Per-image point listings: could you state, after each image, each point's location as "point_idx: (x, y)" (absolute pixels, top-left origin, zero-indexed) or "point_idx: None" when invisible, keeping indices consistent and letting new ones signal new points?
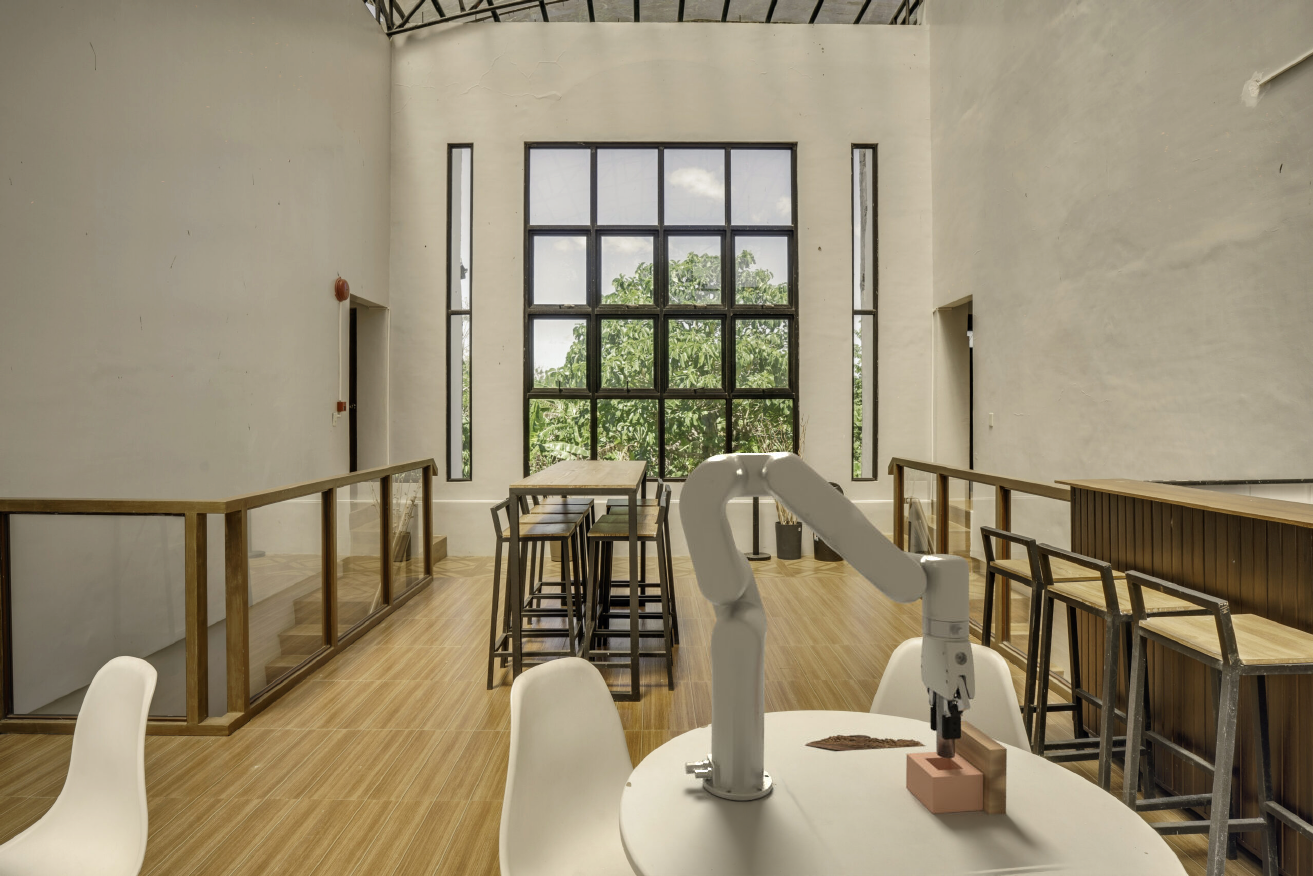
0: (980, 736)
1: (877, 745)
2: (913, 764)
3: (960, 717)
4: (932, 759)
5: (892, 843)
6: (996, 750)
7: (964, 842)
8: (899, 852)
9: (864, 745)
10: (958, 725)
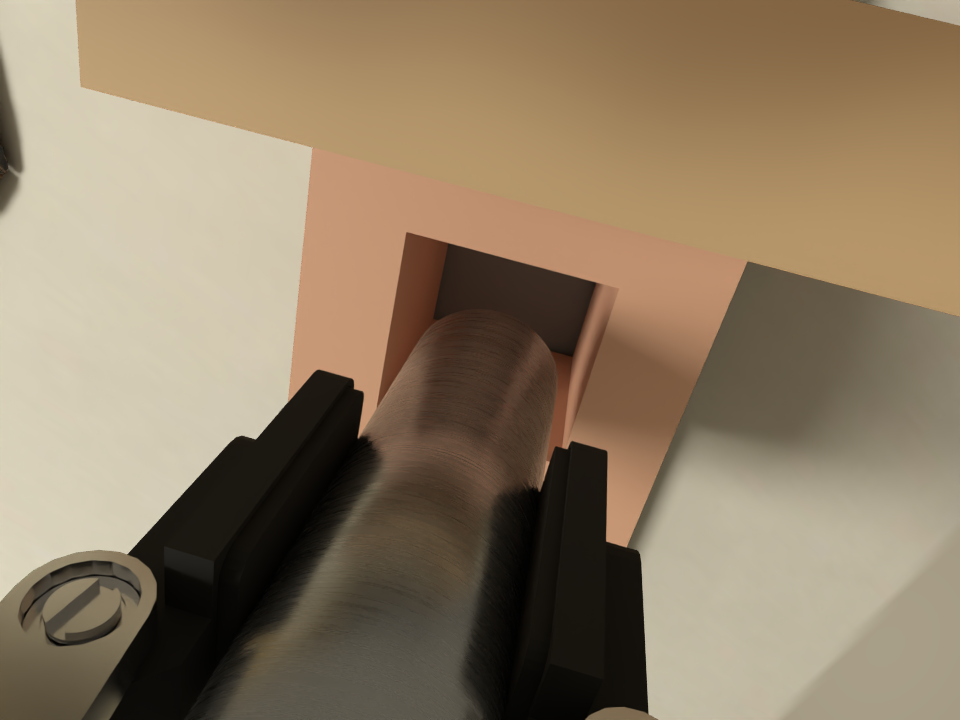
0: (609, 91)
1: None
2: None
3: (602, 654)
4: (389, 356)
5: (670, 640)
6: None
7: (824, 418)
8: (729, 659)
9: None
10: (642, 642)
